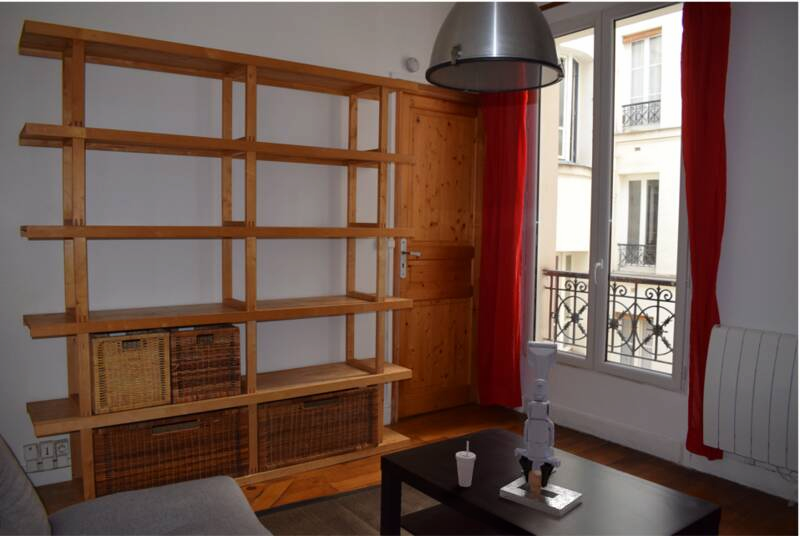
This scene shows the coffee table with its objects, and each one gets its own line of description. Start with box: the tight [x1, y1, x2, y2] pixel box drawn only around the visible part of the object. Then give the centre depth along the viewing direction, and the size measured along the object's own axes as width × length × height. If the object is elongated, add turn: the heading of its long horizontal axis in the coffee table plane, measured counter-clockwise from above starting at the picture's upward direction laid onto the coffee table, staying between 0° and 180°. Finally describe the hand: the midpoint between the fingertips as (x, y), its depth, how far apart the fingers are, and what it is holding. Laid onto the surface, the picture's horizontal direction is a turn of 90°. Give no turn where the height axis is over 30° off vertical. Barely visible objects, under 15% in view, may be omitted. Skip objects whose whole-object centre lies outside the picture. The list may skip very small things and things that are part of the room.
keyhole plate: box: [499, 475, 583, 518], centre depth 193 cm, size 14×20×2 cm
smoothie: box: [455, 440, 477, 488], centre depth 202 cm, size 6×6×14 cm
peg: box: [528, 470, 542, 495], centre depth 194 cm, size 5×5×7 cm
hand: (536, 484), depth 194 cm, fingers closed on peg, 5 cm apart
